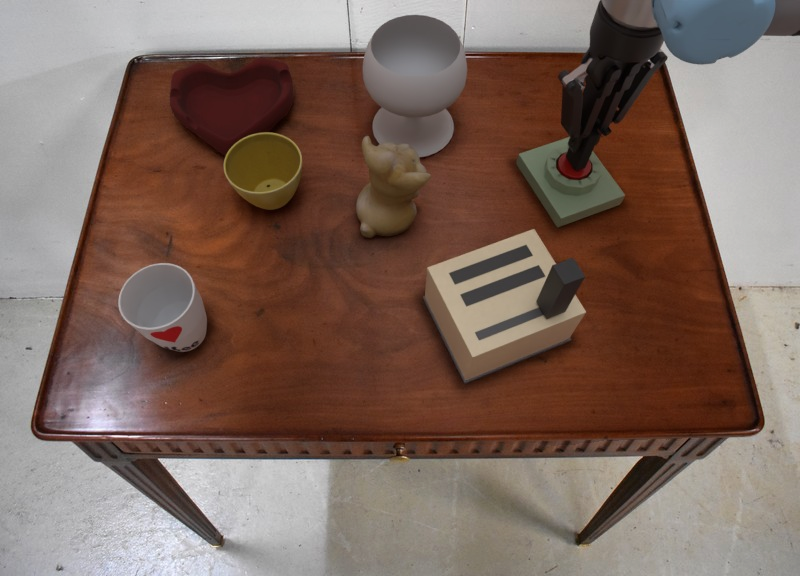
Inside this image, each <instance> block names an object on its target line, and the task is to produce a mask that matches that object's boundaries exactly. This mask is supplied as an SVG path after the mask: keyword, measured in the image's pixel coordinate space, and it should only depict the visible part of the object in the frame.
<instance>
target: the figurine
mask: <svg viewBox="0 0 800 576" xmlns="http://www.w3.org/2000/svg"><path fill="white" fill-rule="evenodd" d="M361 151H362V155H363V159H364V162H365V164H366V166H367V169H368V178H369V183H367V184H366V185H365V186H364V187H363V188H362V190H361V191H360V192H359V194H358V196H357V199H356V206H355V210H356V211H355V212H356V215H357V218H358V220H359V222H360V227H359V231H360V233H361V235H362V236H363V237H364V238H367V239H372V238H374V237H375V236H381V237H393V236H397V235H399V234H403V232H405V231H407V230H408V229H410V227H411V226H412V224H413V222H414V221H415V218H416V217H417V214H418V211H417V206H416V204H415V202H414V201H413V200H415V199H416V198H418V196H419V194H420V189H422V188H423V187H424V186H425V185H426V184H427V183H428V182H429V181H430V180H431V178H432V175H431V173H429V172H427V169H426V167H425V166H424V165H423V163H421V159H420V157H419V155H418V153H417V151H416V150H415V149H414V148H413V147H412V146H410V145H408V144H400V145H396V144H394V143H390V142H385V143H381V144H379V143H378V145H374V144H373V143H372V139H371V137H370V136H369V135H366V136H364V137H363V139H362V141H361Z"/></svg>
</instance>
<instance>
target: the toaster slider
mask: <svg viewBox="0 0 800 576" xmlns="http://www.w3.org/2000/svg"><path fill="white" fill-rule="evenodd" d="M585 278H586V275H585V273H584V272H583V270H582V268H580V266H579V264H578V262H577V261H576V260H575V258H574V257H571V258H569V259H565V260H562V261H560V262H557V263H556V264H555V265H552V267H551V270H550V272H549V274H548V276H547V278H546V281H545V283H544V285H543V287H542V290H541V292H540V294H539V296H538V298H537V301H536V302H537V304H538V306H539V307H540V309H541V311H542V312H543V314H544V316H545V318H546V319H549V318H551V317H554V316H556V315H559V314H561V313H564V312H566V310H567V308H568V306H569V305H570V303H571V301H572V299H573V297H574V296H575V295H576V294H577V292H578V290H579V289H580V287H581V285H582V283H583V282H584V279H585Z"/></svg>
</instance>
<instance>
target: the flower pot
mask: <svg viewBox="0 0 800 576" xmlns="http://www.w3.org/2000/svg"><path fill="white" fill-rule="evenodd" d="M223 172H224V176H225V178H226V179H227V181H228V183H229V184H230V185H231V187H232V188H233V190H235V192H237V194H238V195H239V196H240V197H242V198H243V199H244V200H245V201H247V202H248V203H250V204H251V205H253V206H255V207H257V208H260V209H263V210H268V211H273V210H278V209H280V208H282V207H284V206H286V205H287V204H289V202H290V201H291V200H292V198H293V197H294V195H295V193H296V191H297V189H298V187H299V184H300V181H301V177H302V172H303V156H302V152H301V149H300V148H299V147H298V144H297V143H295V142H294V141H293V140H292V139H290V138H289V137H288V136H285V135H284V134H280V133H276V132H270V131H269V132H268V133H267V132H265V133H256V134H252V135H249V136H247V137H244V138H243V139H241V140H239V141H238V142H237V143H235V144H234V145H233V146H232V147H231V148H230V149H229V151H228V153H227V154H226V156H224V160H223Z"/></svg>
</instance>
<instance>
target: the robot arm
mask: <svg viewBox="0 0 800 576" xmlns="http://www.w3.org/2000/svg"><path fill="white" fill-rule="evenodd" d="M762 37H800V0H599V1H598V3H597V7H596V10H595V13H594V15H593V19H592V22H591V25H590V29H589V46H588V49H587V51H586V52H584V54H583V55H582V57H581V60H580V65H579V66H578V67H576V68H575V69H574V70H572V71H571V72H570V71H569V70H567V69H564V70H562V71H560V73H559V74H558V75H557V79H558V80H559V82H560V84H561V85H562V89H561V90H562V91H561V94H562V95H561V109H560V111H561V113H560V125H561V127H562V128H563V130H564V131H565V132H566V133H567V135H568V137H570V138H569V141H568V146H569V149H568V151H567V154H566V158H567V160H568V161H569V163H570V164H571V166H572V167H573V168H574V170H575V171H578V170H581V169H584V168H585V167H586V165H587V163H588V160H589V158H590V156H591V153H592V151H593V152H594V149H595V147H596V146H597V145H598V143H599V142H600V139H601V138H602V136H603V137H607V136H609V135H610V134H612V132H613V130H612V129H611V128H610V125H611V124H612V123H613V124H614V125H617V124H619V123H621V122H622V121H623V119H624V118H625V117H626V115H627V114H628V113H629V111H630V109H631V108H632V106H633V105H634V104H635V102H636V100H637V99H638V97H640V94H641V93H642V92H643V91H644V89H645V87H646V86H647V85H648V83H649V81H650V80H651V78H652V77H653V76H654V74H655V73H656V72H657V71H658V70H659V69H660V68H661V67H662V66H663V65H664V64H665V63H666V61H667V60H668V58H669V57H668V55H667V54H666V53H665V52H664V50H662V46H663V45H664V44H665V46H666V48H667V49H668V51H669V52H670V54H672V55H673V57H675V58H677V59H679V61H681V62H685V63H688V64H690V65H691V64H692V65H700V66H701V65H712V64H715V63H716V62H717V61H719V60H722V59H725V58H729V59H732V58H735V57H737V56H738V55H741V54H742V53H744V52H745V51H747V50H748V49H749V48H751V47H752V46H753V45H755V44H756V43H757V42H758V41H759V40H760V39H761V38H762Z"/></svg>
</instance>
